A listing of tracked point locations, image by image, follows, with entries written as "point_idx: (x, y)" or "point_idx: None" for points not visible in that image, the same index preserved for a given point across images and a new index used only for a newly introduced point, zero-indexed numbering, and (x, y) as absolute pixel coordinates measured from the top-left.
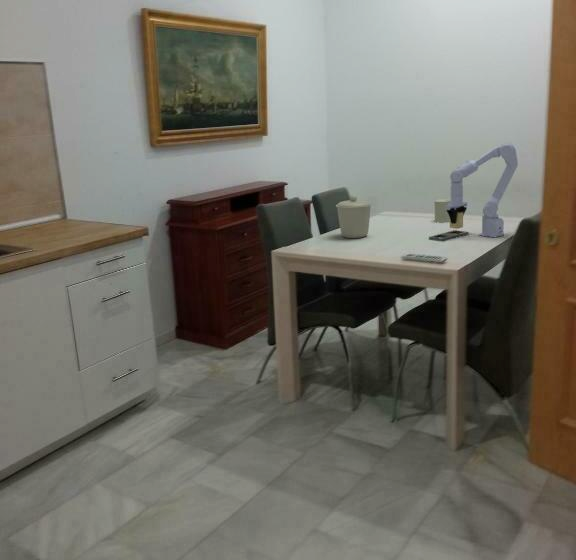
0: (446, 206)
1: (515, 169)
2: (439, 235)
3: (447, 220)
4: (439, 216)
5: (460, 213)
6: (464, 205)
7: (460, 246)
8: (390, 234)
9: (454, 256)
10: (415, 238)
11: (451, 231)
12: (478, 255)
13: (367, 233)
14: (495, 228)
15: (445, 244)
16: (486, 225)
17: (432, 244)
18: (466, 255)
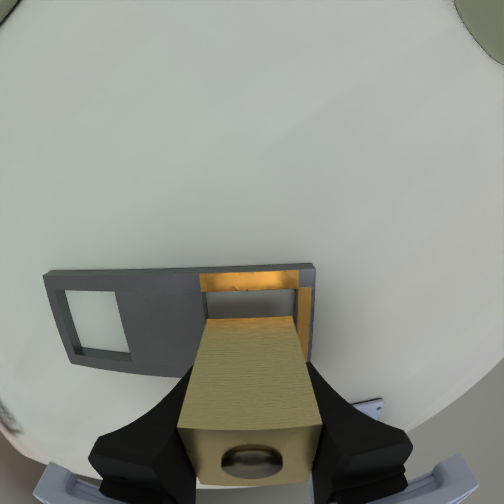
0: (42, 495)
1: None
2: (111, 290)
3: (494, 51)
4: (481, 9)
5: (257, 479)
6: (417, 489)
7: (93, 435)
8: (54, 18)
9: (39, 441)
10: (27, 189)
11: (251, 288)
12: (86, 475)
13: (2, 14)
14: (309, 487)
15: (63, 388)
16: (310, 478)
17: (27, 346)
18: (64, 459)
